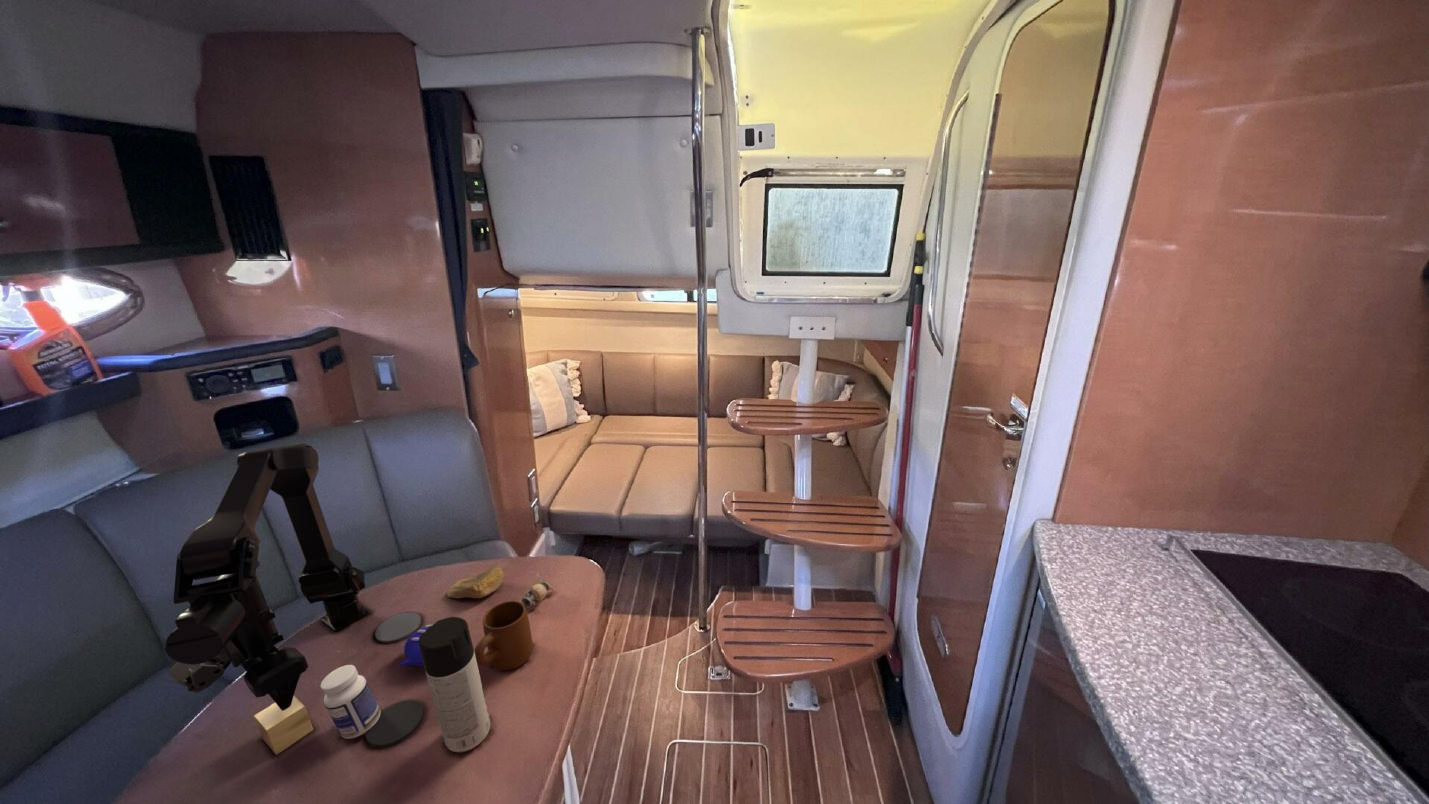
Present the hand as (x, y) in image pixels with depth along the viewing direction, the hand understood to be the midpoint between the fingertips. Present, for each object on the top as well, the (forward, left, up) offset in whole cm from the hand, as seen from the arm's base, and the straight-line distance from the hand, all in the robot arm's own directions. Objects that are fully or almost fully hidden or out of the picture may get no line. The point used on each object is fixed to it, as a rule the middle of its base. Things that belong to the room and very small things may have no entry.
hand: (273, 695), depth 82 cm
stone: (0, +38, -5) cm, 38 cm away
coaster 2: (+13, +10, -8) cm, 18 cm away
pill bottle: (+9, +7, -8) cm, 14 cm away
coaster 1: (-9, +22, -8) cm, 25 cm away
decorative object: (+5, +21, -8) cm, 23 cm away
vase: (+11, +44, -4) cm, 45 cm away
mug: (+18, +27, -8) cm, 33 cm away
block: (0, 0, -8) cm, 8 cm away
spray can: (+25, +15, -8) cm, 30 cm away
